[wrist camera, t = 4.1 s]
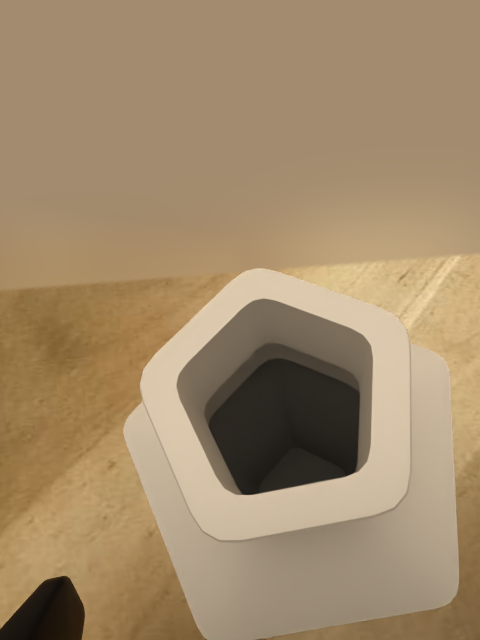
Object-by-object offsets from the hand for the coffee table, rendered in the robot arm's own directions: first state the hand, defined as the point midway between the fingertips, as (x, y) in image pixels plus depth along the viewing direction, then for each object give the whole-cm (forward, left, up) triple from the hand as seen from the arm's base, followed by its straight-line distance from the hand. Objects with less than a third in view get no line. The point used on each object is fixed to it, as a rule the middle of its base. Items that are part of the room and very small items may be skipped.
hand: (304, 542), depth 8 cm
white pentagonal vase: (+1, 0, -9) cm, 9 cm away
